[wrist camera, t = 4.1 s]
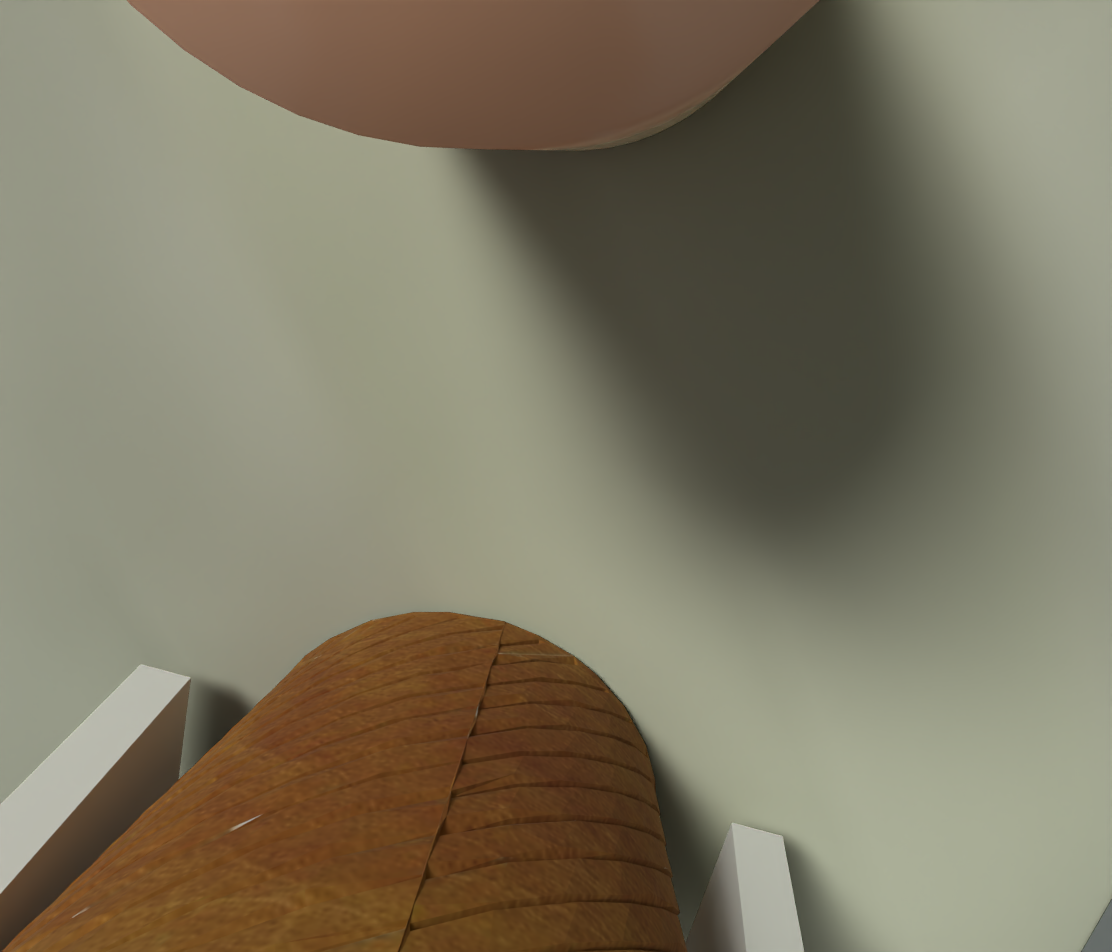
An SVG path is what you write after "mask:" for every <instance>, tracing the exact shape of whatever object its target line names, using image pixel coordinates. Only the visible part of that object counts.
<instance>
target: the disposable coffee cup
mask: <svg viewBox="0 0 1112 952" xmlns="http://www.w3.org/2000/svg"><path fill="white" fill-rule="evenodd" d="M659 816H660V810H659V806H658V801H657V797H656V788H655V778H654V774H653V770H652V766H651V763H650V759H649V755H648V751H647V748H646V745H645V743H644V741H643V739H642V737H641V736H640V734H639V732H638V730H637V728H636V727H635V725H634V723H633V721H632V719H631V718H630V716H629V714H628V712H627V711H626V709H625V707H624V706H623V704H622V703H621V702H620V701H619V700H618V699H617V698H616V696H615V695H614V694H613V693H612V692H611V691H610V690H609V688H608V687H607V686H606V685H605V684H604V683H603V682H602V680H601V679H600V678H599V677H598V676H597V675H596V674H595V673H594V672H593V671H591V670H590V669H589V668H588V667H587V666H585V665H584V664H583V663H582V662H580V661H579V660H578V659H577V658H576V657H574V656H573V655H571V654H569V653H568V652H566V651H564V650H562V649H561V648H559V647H557V646H556V645H554V644H552V643H550V642H549V641H547V640H545V639H543V638H542V637H540V636H538V635H536V634H533V633H531V632H529V631H526V630H524V629H521V628H519V627H516V626H514V625H511V624H509V623H506V622H505V621H499V620H493V619H487V618H481V617H475V616H469V615H463V614H457V613H451V612H412V613H407V614H402V615H396V616H391V617H386V618H380V619H375V620H371V621H368V622H366V623H364V624H362V625H359V626H357V627H355V628H353V629H350V630H348V631H346V632H344V633H341V634H339V635H337V636H335V637H332V638H330V639H329V640H327V641H326V642H324V643H323V644H321V645H320V646H319V647H317V648H316V649H314V650H313V651H311V652H310V653H308V654H307V655H306V656H305V657H304V658H303V659H302V660H301V661H300V662H299V663H298V664H297V665H296V666H295V667H294V668H293V669H292V671H291V672H290V673H289V674H288V675H287V676H286V677H285V678H284V679H283V680H282V681H281V682H280V683H279V684H278V685H277V686H276V687H275V688H274V689H273V690H272V691H271V692H270V693H268V694H267V695H266V696H265V697H264V698H263V699H262V700H261V701H260V702H259V703H258V704H257V705H256V706H255V707H254V708H253V709H252V710H251V711H250V712H249V713H248V714H247V715H246V716H245V717H244V718H242V719H241V720H240V721H239V722H238V723H237V724H236V725H235V726H233V727H232V729H231V730H230V731H229V732H228V733H227V734H226V735H225V736H224V737H223V738H222V739H221V740H220V741H219V742H218V743H217V744H215V745H214V746H213V747H212V748H211V749H210V750H209V751H208V752H207V753H206V754H205V755H204V756H203V757H202V758H201V759H200V760H199V761H198V762H197V763H196V764H195V765H194V766H193V767H192V768H191V769H190V770H189V771H188V772H187V773H185V774H184V775H183V776H182V777H181V778H180V779H179V780H178V781H177V782H176V783H175V784H174V785H173V786H172V787H171V788H170V789H169V790H168V791H167V792H166V793H165V794H164V795H163V796H161V797H160V798H159V799H158V800H157V801H156V802H155V803H153V804H152V805H151V806H150V807H149V808H148V809H147V810H146V811H145V812H144V813H143V814H142V815H141V816H140V817H139V818H138V819H137V820H136V821H135V822H134V823H133V824H132V825H131V826H130V827H129V828H128V830H127V831H126V832H125V833H123V834H122V835H121V836H120V837H119V838H118V839H117V840H116V841H115V842H113V843H112V844H111V845H110V846H109V847H108V848H107V849H106V850H105V852H104V853H103V854H102V855H101V856H100V857H99V858H98V859H97V860H96V861H95V862H94V863H93V864H92V865H91V866H90V867H89V868H88V869H87V870H86V871H84V872H83V873H82V874H81V875H80V876H79V877H78V878H77V879H76V880H74V881H73V882H72V883H71V885H70V886H69V887H68V888H67V889H66V890H65V891H64V892H63V893H62V894H61V895H60V896H59V897H58V898H57V899H56V900H55V901H54V902H53V903H52V904H51V905H50V906H49V907H47V908H46V909H45V910H44V911H43V912H42V913H41V914H40V915H38V916H37V917H36V918H35V919H34V920H33V921H32V922H31V923H29V924H28V925H27V926H26V927H25V928H24V929H23V930H22V931H21V932H20V933H19V934H18V935H17V936H16V937H15V938H14V939H13V940H12V941H11V942H10V943H9V944H8V945H7V946H6V947H5V949H4V950H3V951H2V952H687V948H686V944H685V940H684V937H683V933H682V929H681V925H680V921H679V918H678V916H677V915H678V914H679V913H680V911H679V907H678V903H677V900H676V896H675V892H674V888H673V884H672V881H671V878H672V877H673V875H672V871H671V867H670V864H669V860H668V856H667V852H666V849H665V846H666V841H665V837H664V832H663V828H662V824H661V820H660V817H659Z"/></svg>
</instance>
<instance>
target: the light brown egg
mask: <svg viewBox="0 0 1112 952" xmlns="http://www.w3.org/2000/svg"><path fill="white" fill-rule="evenodd" d="M127 1H128V2H129V3H130V4H131V5H132V6H133V7H134V8H135V9H136V10H138V11H139V12H140V13H141V14H142V15H143V16H145V17H146V18H147V19H148V20H149V21H151V22H152V23H153V24H154V25H155V26H156V27H158V28H159V29H160V30H161V31H162V32H164V33H165V34H166V35H167V36H168V37H169V38H171V39H172V40H173V41H174V42H175V43H176V44H178V45H179V46H180V47H181V48H182V49H184V50H185V51H186V52H188V53H189V54H191V55H193V56H194V57H196V58H197V59H199V60H200V61H202V62H203V63H205V64H206V65H208V66H209V67H211V68H212V69H214V70H215V71H217V72H218V73H220V74H221V75H223V76H224V77H226V78H228V79H229V80H231V81H232V82H234V83H235V84H237V85H238V86H240V87H242V88H244V89H246V90H248V91H250V92H252V93H254V94H256V95H258V96H260V97H262V98H264V99H266V100H268V101H270V102H272V103H274V104H277V105H279V106H281V107H283V108H285V109H287V110H289V111H291V112H293V113H295V114H297V115H300V116H303V117H306V118H309V119H312V120H315V121H318V122H321V123H324V124H327V125H330V126H333V127H336V128H339V129H342V130H345V131H348V132H351V133H354V134H357V135H361V136H366V137H372V138H377V139H382V140H388V141H393V142H398V143H404V144H409V145H414V146H420V147H442V148H464V149H496V150H572V151H583V150H594V149H604V148H611V147H615V146H620V145H624V144H628V143H632V142H636V141H639V140H641V139H644V138H646V137H649V136H652V135H654V134H657V133H659V132H662V131H664V130H665V129H667V128H669V127H671V126H673V125H675V124H676V123H678V122H680V121H682V120H684V119H686V118H687V117H689V116H690V115H691V114H693V113H694V112H695V111H697V110H698V109H700V108H701V107H702V106H704V105H705V104H706V103H708V102H709V101H710V100H712V99H713V98H714V97H715V96H716V95H717V94H718V93H719V92H720V91H721V90H722V89H724V88H725V87H726V86H727V85H728V84H729V83H730V82H731V81H732V80H733V79H735V78H736V77H737V76H738V75H739V74H740V73H741V72H742V71H743V70H744V69H746V68H747V67H748V66H749V65H750V64H751V63H752V62H753V61H754V60H755V59H756V58H758V57H759V56H760V55H761V54H762V53H763V52H764V51H765V50H766V49H767V48H769V47H770V46H771V45H772V44H773V43H774V42H775V41H776V40H777V39H778V38H780V37H781V36H782V35H783V34H784V33H785V32H786V31H787V30H788V29H789V28H790V27H792V26H793V25H794V24H795V23H796V22H797V21H798V20H799V19H800V18H801V17H802V16H803V15H804V14H805V13H806V12H808V11H809V10H810V9H811V8H812V7H813V6H814V5H815V4H816V3H817V2H818V1H819V0H127Z"/></svg>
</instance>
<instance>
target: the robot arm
mask: <svg viewBox="0 0 1112 952" xmlns="http://www.w3.org/2000/svg"><path fill="white" fill-rule="evenodd" d="M190 681H191V677H187V676H183V675H179V674H176V673H172V672H168V671H165V670H161V669H157V668H153V667H150V666H146V665H142V664H140V665H139V666H138V667H137V668H136V669H135V670H134V671H133V672H132V673H131V674H130V675H129V676H128V677H127V678H126V679H125V680H124V681H123V682H122V683H121V684H120V685H119V686H118V687H117V688H116V689H115V690H114V691H113V692H112V693H111V694H110V695H109V696H108V697H107V698H106V699H105V700H104V701H103V702H102V703H101V704H100V705H99V706H98V707H97V708H96V709H95V710H94V711H93V712H92V713H91V714H90V715H89V716H88V717H87V718H86V719H85V720H84V721H83V722H82V723H81V724H80V725H79V726H78V727H77V728H76V729H75V730H74V731H73V732H72V733H71V734H70V735H69V736H68V737H67V738H66V739H65V740H64V741H63V742H62V743H61V744H60V745H59V746H58V747H57V748H56V749H55V750H54V751H53V752H52V753H51V754H50V755H49V756H48V757H47V758H46V759H45V760H44V761H43V762H42V763H41V764H40V765H39V766H38V767H37V768H36V769H35V770H34V771H33V772H32V773H31V774H30V775H29V776H28V777H27V778H26V779H25V780H24V781H23V782H22V783H21V784H20V785H19V786H18V787H17V788H16V789H15V790H14V791H13V792H12V793H11V794H10V795H9V796H8V797H7V798H6V799H5V800H4V801H3V802H2V803H1V804H0V952H2V951H3V950H4V949H5V947H6V946H7V945H8V944H9V943H10V942H11V941H12V940H13V939H14V938H15V937H16V936H17V935H18V934H19V933H20V932H21V931H22V930H23V929H24V928H25V927H26V926H27V925H28V924H29V923H31V922H32V921H33V920H34V919H35V918H36V917H37V916H38V915H40V914H41V913H42V912H43V911H44V910H45V909H46V908H47V907H49V906H50V905H51V904H52V903H53V902H54V901H55V900H56V899H57V898H58V897H59V896H60V895H61V894H62V893H63V892H64V891H65V890H66V889H67V888H68V887H69V886H70V885H71V883H72V882H73V881H74V880H76V879H77V878H78V877H79V876H80V875H81V874H82V873H83V872H84V871H86V870H87V869H88V868H89V867H90V866H91V865H92V864H93V863H94V862H95V861H96V860H97V859H98V858H99V857H100V856H101V855H102V854H103V853H104V852H105V850H106V849H107V848H108V847H109V846H110V845H111V844H112V843H113V842H115V841H116V840H117V839H118V838H119V837H120V836H121V835H122V834H123V833H125V832H126V831H127V830H128V828H129V827H130V826H131V825H132V824H133V823H134V822H135V821H136V820H137V819H138V818H139V817H140V816H141V815H142V814H143V813H144V812H145V811H146V810H147V809H148V808H149V807H150V806H151V805H152V804H153V803H155V802H156V801H157V800H158V799H159V798H160V797H161V796H163V795H164V794H165V793H166V792H167V791H168V790H169V789H170V788H171V787H172V786H173V785H174V784H175V783H176V782H177V781H178V778H179V770H180V762H181V754H182V746H183V737H184V729H185V721H186V713H187V705H188V697H189V689H190ZM686 948H687V952H804V948H803V942H802V937H801V932H800V926H799V921H798V916H797V910H796V905H795V900H794V894H793V889H792V884H791V878H790V873H789V867H788V862H787V857H786V851H785V846H784V841H783V836H781V835H777V834H773V833H770V832H766V831H762V830H759V829H755V828H751V827H747V826H744V825H740V824H736V823H731V825H730V828H729V831H728V833H727V836H726V838H725V841H724V844H723V846H722V849H721V852H720V854H719V857H718V859H717V862H716V865H715V867H714V870H713V873H712V875H711V878H710V881H709V883H708V886H707V888H706V891H705V894H704V896H703V899H702V902H701V904H700V907H699V909H698V912H697V915H696V917H695V920H694V923H693V925H692V928H691V930H690V933H689V936H688V938H687V941H686Z"/></svg>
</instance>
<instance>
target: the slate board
mask: <svg viewBox="0 0 1112 952" xmlns="http://www.w3.org/2000/svg"><path fill="white" fill-rule="evenodd" d="M1082 952H1112V900H1111V902H1110V903H1109V905H1108V907H1107V909H1106V910H1105V912H1104V914H1103V916H1102V917H1101V919H1100V921H1099V923H1098V924H1097V926H1096V928H1095V930H1094V931H1093V933H1092V935H1091V936H1090V938H1089V940H1088V942H1087V943H1086V945H1085V947H1084V949H1083V950H1082Z"/></svg>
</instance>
